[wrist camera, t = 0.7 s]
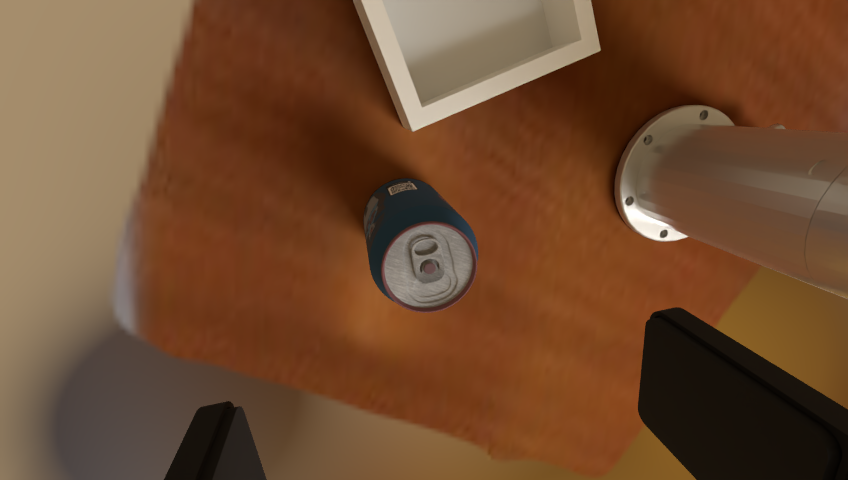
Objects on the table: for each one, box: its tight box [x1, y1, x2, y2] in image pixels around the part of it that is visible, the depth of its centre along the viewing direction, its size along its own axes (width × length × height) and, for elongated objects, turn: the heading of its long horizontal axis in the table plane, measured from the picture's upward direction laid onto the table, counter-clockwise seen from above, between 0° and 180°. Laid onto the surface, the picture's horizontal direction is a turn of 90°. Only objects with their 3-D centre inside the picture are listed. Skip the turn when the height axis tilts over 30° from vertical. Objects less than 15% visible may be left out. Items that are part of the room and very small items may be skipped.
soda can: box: [363, 178, 478, 313], centre depth 29 cm, size 7×7×12 cm
